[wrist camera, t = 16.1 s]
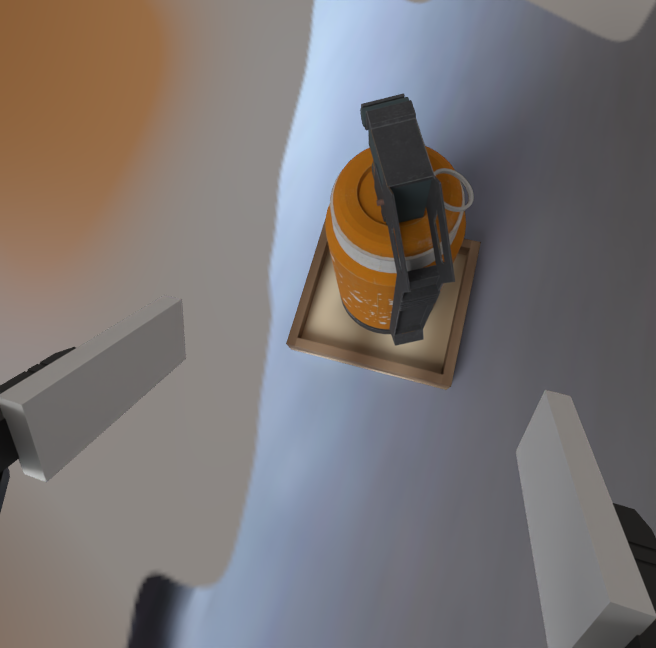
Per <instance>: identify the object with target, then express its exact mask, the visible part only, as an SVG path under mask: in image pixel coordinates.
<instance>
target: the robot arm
mask: <svg viewBox="0 0 656 648" xmlns="http://www.w3.org/2000/svg"><path fill="white" fill-rule="evenodd" d="M185 359H186V354H185V339H184V324H183V307H182V299H180V298H176V297H172V296H167V295H163V296H161V297H160V298H158V299H156V300H155V301H153V302H152V303H150V304H148V305H147V306H145V307H143V308H142V309H140V310H138V311H137V312H135V313H133V314H132V315H130V316H129V317H127V318H125V319H123V320H122V321H120V322H118V323H117V324H115V325H114V326H112V327H110V328H109V329H107V330H105V331H104V332H102V333H101V334H99V335H97V336H96V337H94V338H92V339H91V340H89V341H87V342H86V343H84V344H82V345H80V346H79V347H77V348H75V347H72V348H70V349H66V350H63V351H61V352H58V353H55V354H53V355H52V356H50V357H48V358H46V359H45V360H43V361H42V362H40V364H36V365H35V366H33V367H31V368H29V369H28V371H27V372H25V371H24V372H23V373H21V374H19V375H17V376H16V377H14V378H12V379H11V380H9V381H7V382H6V383H4V384H2V385H0V512H1V508H2V504H3V501H4V497H5V493H6V489H7V485H8V482H9V477H10V474H9V469H8V466H10V465H11V464H12V463H14V462H15V461H16V460H17V459H19V461H20V464H21V467H22V470H23V473H24V474H26V475H29V476H31V477H34V478H37V479H39V480H42V481H44V482H47V481H49V479H51V478H52V477H53V476H54V475H55V474H56V473H58V472H59V471H60V470H61V469H62V468H63V467H64V466H65V465H67V464H68V463H69V462H70V461H71V460H72V459H73V458H74V457H76V456H77V455H78V454H79V453H80V452H81V451H82V450H83V449H85V448H86V447H87V446H88V445H89V444H90V443H91V442H93V441H94V440H95V439H96V438H97V437H98V436H99V435H100V434H101V433H103V432H104V431H105V430H106V429H107V428H108V427H109V426H111V424H113V423H114V422H115V421H116V420H117V419H119V418H120V417H121V416H122V415H123V414H124V413H125V412H126V411H128V409H130V408H131V407H132V406H133V405H134V404H135V403H137V402H138V401H139V400H140V399H141V398H142V397H143V396H144V395H146V394H147V393H148V392H149V391H150V390H151V389H152V388H153V387H155V386H156V384H158V383H159V382H160V381H161V380H162V379H164V378H165V377H166V376H167V375H168V374H169V373H170V372H171V371H173V370H174V369H175V368H176V367H177V366H178V365H179V364H180V363H182V362H183V361H184V360H185ZM516 455H517V461H518V467H519V474H520V480H521V486H522V492H523V498H524V504H525V510H526V516H527V522H528V528H529V534H530V540H531V546H532V552H533V559H534V565H535V571H536V577H537V583H538V589H539V595H540V601H541V607H542V613H543V619H544V625H545V631H546V637H547V644H548V648H656V538H655V536H654V533H653V531H652V530H651V528H650V527H649V526H648V525H647V524H646V522H645V521H644V520H643V519H642V518H641V516H640V515H639V514H638V513H637V512H636V511H635V509H632V508H628V507H625V506H621V505H618V504H614V503H612V501H611V498H610V496H609V493H608V490H607V488H606V485H605V483H604V480H603V478H602V475H601V473H600V470H599V467H598V465H597V462H596V460H595V457H594V455H593V452H592V450H591V447H590V444H589V442H588V439H587V437H586V434H585V432H584V429H583V427H582V424H581V422H580V419H579V416H578V414H577V411H576V409H575V406H574V404H573V401H572V399H571V396H568V395H564V394H560V393H556V392H552V391H548V390H545V391H544V393H543V395H542V397H541V399H540V401H539V404H538V406H537V408H536V410H535V412H534V414H533V416H532V418H531V421H530V423H529V425H528V427H527V429H526V431H525V433H524V435H523V438H522V440H521V442H520V444H519V446H518V448H517V450H516Z"/></svg>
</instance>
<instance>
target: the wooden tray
mask: <svg viewBox="0 0 656 648" xmlns="http://www.w3.org/2000/svg"><path fill="white" fill-rule="evenodd" d="M325 222H326V219H325ZM325 222H324V225H323V228H322V232H321V235H320V238H319V241H318V244H317V248H316V251H315V254H314V257H313V260H312V263H311V267H310V270H309V273H308V276H307V279H306V283H305V286H304V289H303V292H302V295H301V298H300V302H299V305H298V308H297V311H296V314H295V318H294V321H293V324H292V327H291V330H290V334H289V337H288V340H287V343H286V344H287V345H288V346H289V347H290V349H292V350H296V351H300V352H303V353H307V354H311V355H315V356H319V357H323V358H326V359H330V360H334V361H338V362H342V363H346V364H349V365H353V366H357V367H361V368H365V369H369V370H372V371H376V372H380V373H384V374H388V375H392V376H395V377H399V378H403V379H407V380H411V381H414V382H418V383H422V384H426V385H430V386H434V387H437V388H441V389H445V390H447V389H448V388H449V387H451V384H452V379H453V374H454V369H455V364H456V359H457V355H458V350H459V345H460V340H461V335H462V330H463V325H464V321H465V316H466V311H467V306H468V301H469V296H470V291H471V287H472V282H473V277H474V272H475V267H476V262H477V258H478V253H479V248H480V243H481V242H478V241H473V240H468V239H463V242H462V245H461V247H460V249H459V252H458V254H457V256H456V258H455V261H454V263H453V268H454V275H455V282H450V283H444V285H443V287H442V290H441V292H440V294H439V296H438V299H437V301H436V303H435V305H434V307H433V309H432V311H431V313H430V315H429V317H428V319H427V322H426V324H425V326H424V328H423V335H424V340H419V341H415V342H410V343H406V344H401V345H397V346H395V344H394V341H393V338H392V335H391V334H379V333H375V332H372V331H369V330H367V329H365V328H363V327H361V326H360V325H358V324H357V323H356V322H355V321H354V320H353V319H352V318H351V317H350V316H349V315H348V313H347V312H346V310H345V308H344V306H343V304H342V300H341V297H340V292H339V288H338V284H337V280H336V276H335V271H334V267H333V263H332V258H331V254H330V250H329V246H328V241H327V237H326V229H325Z"/></svg>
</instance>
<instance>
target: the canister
mask: <svg viewBox="0 0 656 648" xmlns="http://www.w3.org/2000/svg"><path fill="white" fill-rule="evenodd" d="M360 111H361V119H362V124H363V127H365V129H366V130H369V146H370V148H368V149H366V150H364V151H362V152H361V153H359V154H358V155H356V156H355V157H354V158H353V159H352V160H350V161H349V163H348V164H347V165H346V166H345V167H344V169H343V170H342V171H341V172H340V174H339V176H338V177H337V179H336V181H335V183H334V186H333V188H332V193H331V197H330V204H329V207H328V210H327V214H326V222H325V229H326V237H327V241H328V246H329V250H330V254H331V258H332V263H333V267H334V271H335V276H336V280H337V284H338V288H339V292H340V297H341V300H342V304H343V306H344V308H345V310H346V312H347V313H348V315H349V316H350V317H351V318H352V319H353V320H354V321H355V322H356V323H357V324H358V325H360V326H361V327H363V328H365V329H367V330H369V331H372V332H375V333H379V334H391V335H392V338H393V341H394V344H395V346H397V345H401V344H406V343H410V342H415V341H419V340H424V335H423V328H424V326H425V324H426V322H427V319H428V317H429V315H430V313H431V311H432V309H433V307H434V305H435V303H436V301H437V299H438V296H439V294H440V292H441V290H442V287H443V285H444V283H450V282H455V275H454V268H453V263H454V261H455V258H456V256H457V254H458V252H459V249H460V247H461V245H462V242H463V239H464V236H465V229H466V217H465V211H464V210H466V209H467V208H468V207H470V206H471V204H472V202H473V198H474V195H473V190H472V188H471V186H470V184H469V182H468V181H467V180H466V179H465V178H464V177H463V176H462V175H461V174H459V173H458V172H456V171H455V170H454V168H453V167H452V165H451V164H450V163H449V162H448V161H447V160H446V159H445V158H444V157H443V156H442V155H440V154H439V153H438V152H436V151H434V150H433V149H431V148H429V147H426V146H425V144H424V141H423V138H422V135H421V132H420V129H419V126H418V123H417V120H416V113H415V110H414V107H413V104H412V101H411V100H410V101H409V99H408V97H404V94H400V95H396V96H392V97H388V98H384V99H380V100H376V101H372V102H368V103H364V104H361V110H360ZM461 182H462V183H463V185H464V186H465V188H466V189H467V192H468V197H469V198H468V203H467V205H466V206H465V197H464V190H463V186H462V183H461Z"/></svg>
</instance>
